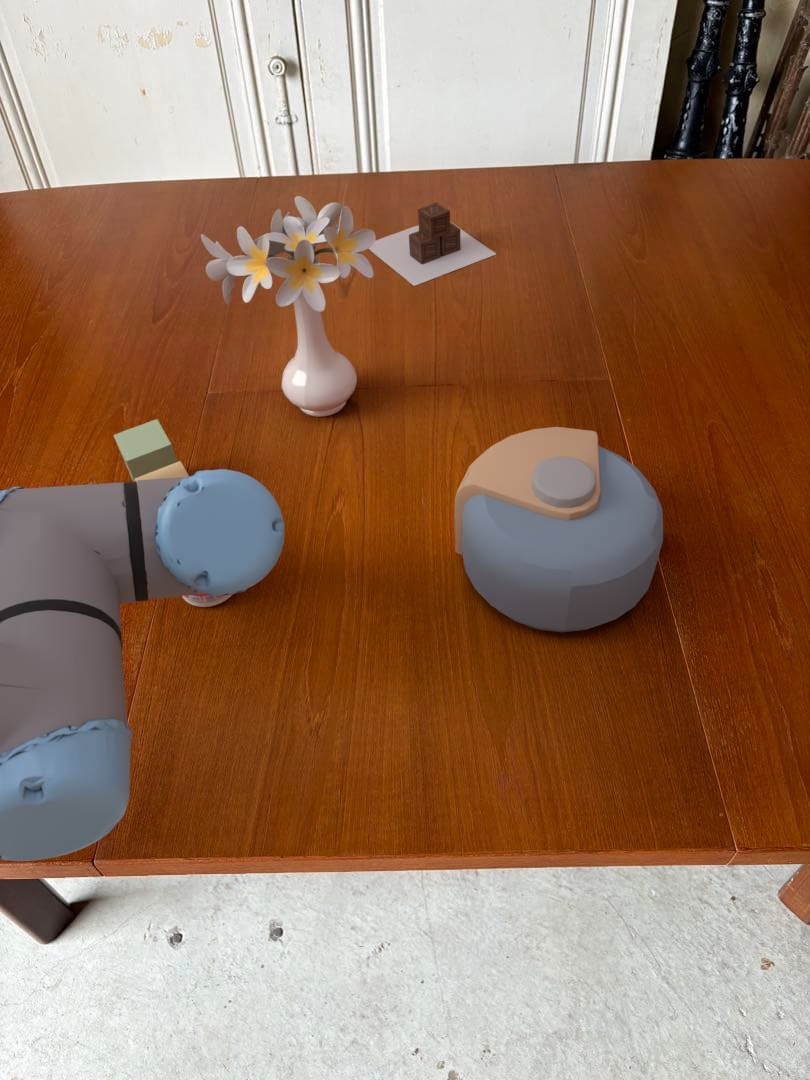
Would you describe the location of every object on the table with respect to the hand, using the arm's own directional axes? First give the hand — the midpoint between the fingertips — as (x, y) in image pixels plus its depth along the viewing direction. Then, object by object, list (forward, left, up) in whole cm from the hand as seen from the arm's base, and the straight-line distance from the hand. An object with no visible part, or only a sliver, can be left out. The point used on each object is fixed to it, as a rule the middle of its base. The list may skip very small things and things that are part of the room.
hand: (191, 541), depth 84 cm
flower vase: (+19, +20, -4) cm, 28 cm away
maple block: (-1, +4, -3) cm, 6 cm away
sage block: (-2, +12, -3) cm, 13 cm away
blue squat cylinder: (+35, -14, -4) cm, 37 cm away
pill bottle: (+1, -4, -4) cm, 5 cm away
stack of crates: (+45, +50, -4) cm, 67 cm away
